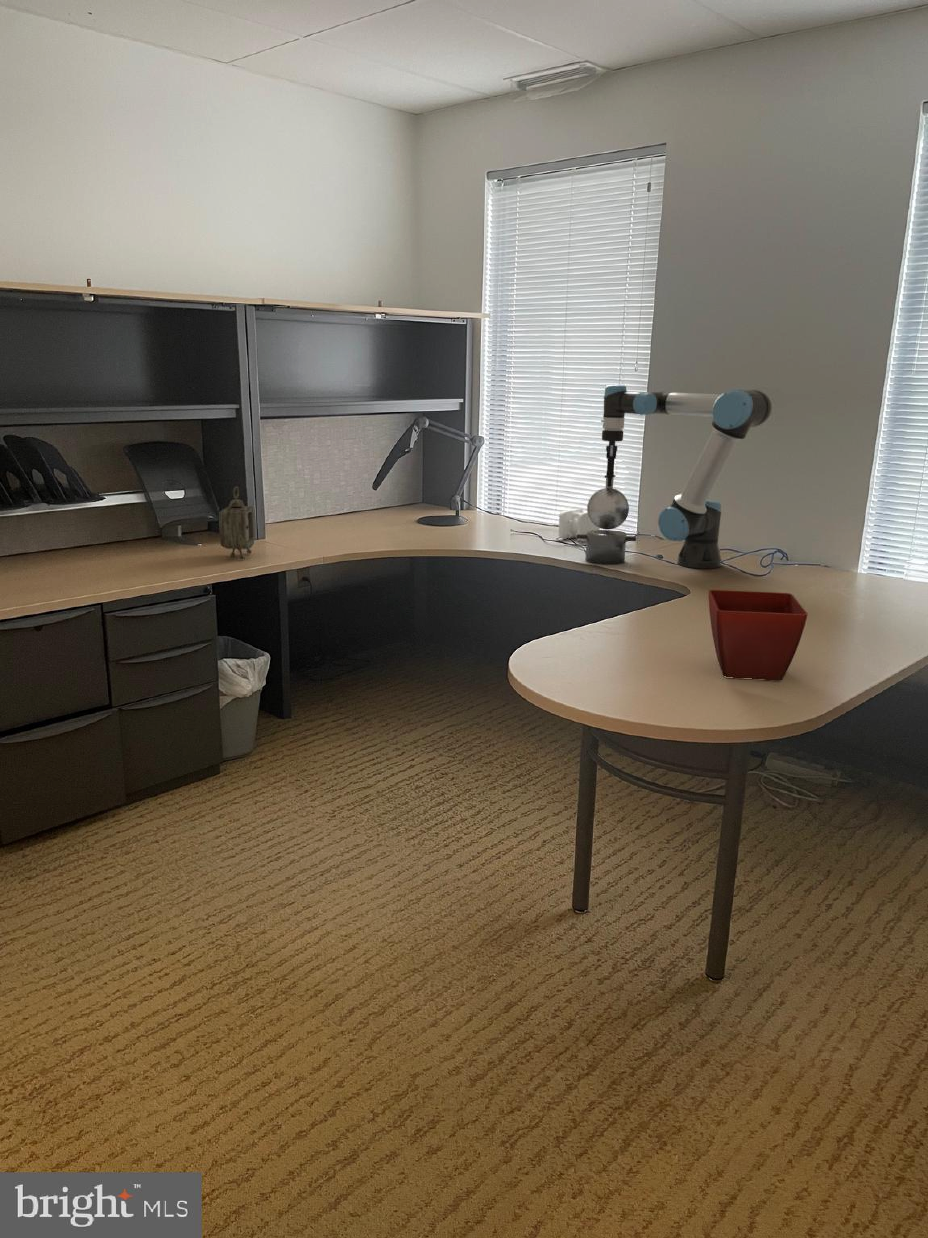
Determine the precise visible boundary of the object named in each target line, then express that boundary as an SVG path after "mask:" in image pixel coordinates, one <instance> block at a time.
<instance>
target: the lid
mask: <svg viewBox="0 0 928 1238" xmlns="http://www.w3.org/2000/svg"><path fill="white" fill-rule="evenodd" d="M629 511H630V506H629V501H628V498H627V497H626V496H625V494H624V493H623V492H621V491H620V490H618V489H616V488H614V487H613V488H606V487H604V488H601V489H598V490H596V492H593V494H592V495H591V496H590V497H589V500H588V502H587V506H586V512H587V513H588V516H589V519H590V520H591V522H592V523H593V524H594V525H595V526H597V527H599V528H600V530H613V529H616V528H619V527H620V526H621V525H623V523H624V522H625V521H626V520H627V518H628V515H629Z"/></svg>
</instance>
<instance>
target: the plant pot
mask: <svg viewBox="0 0 928 1238" xmlns="http://www.w3.org/2000/svg"><path fill="white" fill-rule="evenodd" d="M795 597H796V596H794V594H792V593H788V592H772V591H771V592H770V591H749V590H748V591H747V590H745V591H744V590H728V589H727V590H726V589H725V590H724V589H722V590H721V589H709V590H708V607H709V608H708V610H709V620H710V627H711V633H712V639H713V644H714V649H715V654H716V659H717V661H718V662H719V663H718V665H719V667H720V671H721V673H722V676H723V675H724V676H726V677H733V678H732V679H734V678H752V679H765V680H764V681H770V680H778V681H777V682H780V681H779V680H781V681H783V679H784V677H785V676H786V674H787V672H788V670H789V667H790V666H791V663H792V662H793V659H794V656H795V654H796V652H797V649H798V647H799V644H800V641H801V639H802V637H803V636H802V635H803V633H804V628H805V626H806V623H807V618H808V614H809V613H808V612H807V611H806V610H805V609H804V608H803V606H802V604H800V603H799V601H798V599H797V598H795ZM724 676H723V677H724ZM752 679H751V680H752Z"/></svg>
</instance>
